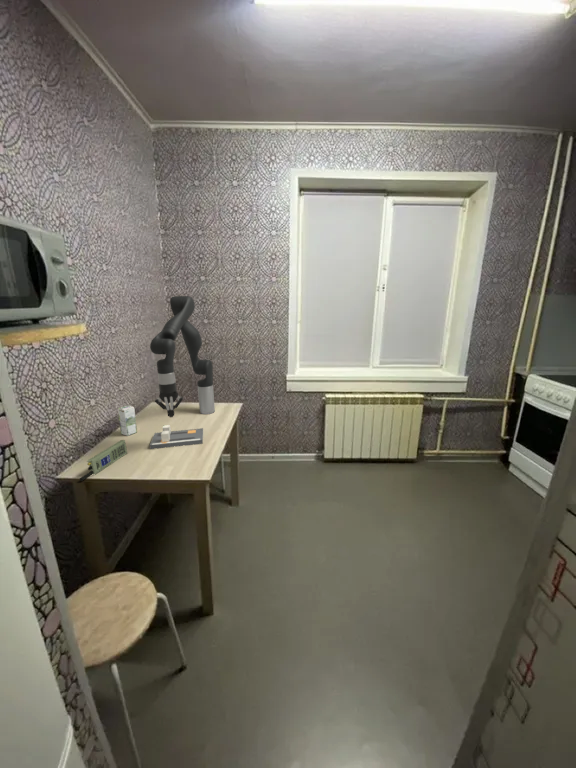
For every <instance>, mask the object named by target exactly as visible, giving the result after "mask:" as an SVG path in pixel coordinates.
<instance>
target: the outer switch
mask: <svg viewBox="0 0 576 768" xmlns="http://www.w3.org/2000/svg"><path fill="white" fill-rule="evenodd" d="M161 432H162V433H161V438H162V442H167V441H169V440H170V434H169V431H163V430H162V431H161Z"/></svg>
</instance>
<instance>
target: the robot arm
mask: <svg viewBox="0 0 576 768" xmlns="http://www.w3.org/2000/svg"><path fill="white" fill-rule="evenodd" d="M169 301H170V302H169V303H170V304H169V305H170V309H171V311H172V315H173V317H171V318H169V319H168V320H167V322H166V323H165V324H164V326H163V327H162V329H161V331H159V333H157V334H156V335H155V336H154V338H152V339H151V340H150V341H151V342H150V348H149V349H150V351H151V352H152V353H153V354H154V355H165V357H164V358H161V359H159V360H157V361H156V369H157V382H158V383H157V384H158V389H159V395H158V397H157V398H155V400H154V403H156V404H157V405H158V406H159V408H161V409H162V410H166V412H167V417H169V418H174V416H175V409H177V408H178V407H179V406H180V404H181V403H182V401H183V399H184V397H183V396H181V395H179V393H178V390H177V381H176V379H177V378H176V374H175V366H174V359H175V354H176V353H175V352H176V348H177V346H176V343H175V340H177V337H178V336H179V333H180V332H181V334H182V338H183V341H184V344H185V346H186V349H187V352H188V355H189V358H190V363H191V367H192V370H193V373H194V374H196V375H198V376H199V375H201V376H205V377H204V378H203V379H199V380H198V381H197V385H196V386H197V394H198V395H197V396H198V408H199V414H202V415H208V414H209V415H210V414H213V413H215V411H216V408H215V396H214V395H215V394H214V393H215V392H214V370H213V369H214V367H213V366H214V365H213V362H212V360H211V359H200V358H199V356H198V355H199V352H200V350H201V348H202V345H203V341H202V337H201V333H200V331H199V330H198V329H197V328H196V327H195V325H194V324H192V322H190V321H189V320H188V319H189V318H190V317H191V316H192V315H193V313H194V311H195V308H196V307H195V305H196V304H195V299H193V297H191V296H188V295H175V296H172V297H171V298H170V300H169ZM176 400H177V402H176V403H174V402H175V401H176Z"/></svg>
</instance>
